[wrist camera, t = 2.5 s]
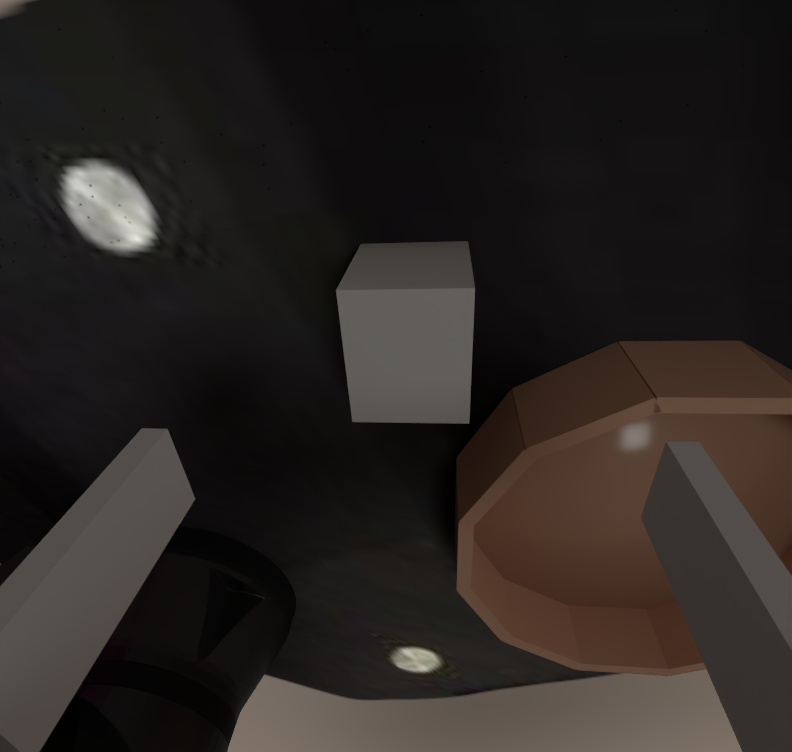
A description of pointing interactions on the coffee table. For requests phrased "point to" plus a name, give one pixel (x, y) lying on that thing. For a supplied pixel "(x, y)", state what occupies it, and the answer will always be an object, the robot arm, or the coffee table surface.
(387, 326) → the grey cube
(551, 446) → the bowl
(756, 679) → the robot arm
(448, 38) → the coffee table surface
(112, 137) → the coffee table surface
